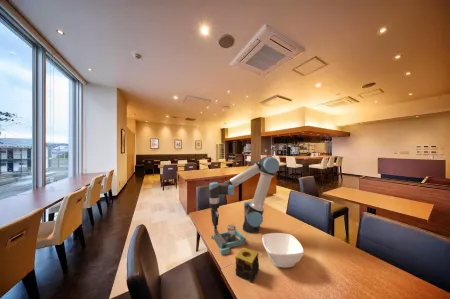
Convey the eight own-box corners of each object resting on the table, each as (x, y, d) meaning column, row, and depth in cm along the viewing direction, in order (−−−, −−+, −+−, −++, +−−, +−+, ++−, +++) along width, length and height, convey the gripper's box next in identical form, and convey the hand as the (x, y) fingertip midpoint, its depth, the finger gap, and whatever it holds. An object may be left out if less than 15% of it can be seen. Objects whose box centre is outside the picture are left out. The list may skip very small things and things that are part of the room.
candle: (252, 283, 78) (252, 263, 78) (235, 275, 84) (234, 256, 84) (259, 270, 87) (258, 252, 87) (243, 263, 92) (242, 246, 93)
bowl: (260, 250, 104) (259, 232, 105) (293, 250, 104) (292, 232, 104) (268, 276, 82) (267, 254, 82) (310, 276, 82) (309, 254, 82)
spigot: (229, 236, 121) (229, 224, 121) (236, 238, 119) (236, 225, 119) (226, 241, 116) (226, 227, 116) (234, 242, 113) (233, 229, 113)
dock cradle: (235, 231, 129) (234, 228, 129) (249, 246, 109) (249, 242, 109) (210, 237, 121) (210, 233, 121) (221, 255, 100) (221, 250, 100)
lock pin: (217, 238, 120) (217, 229, 120) (225, 250, 105) (225, 240, 105) (213, 238, 119) (213, 230, 119) (221, 251, 103) (221, 241, 104)
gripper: (207, 200, 125) (208, 230, 125) (212, 205, 113) (213, 238, 113) (216, 199, 128) (216, 228, 128) (221, 204, 116) (222, 235, 116)
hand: (215, 232), depth 120 cm, fingers closed
